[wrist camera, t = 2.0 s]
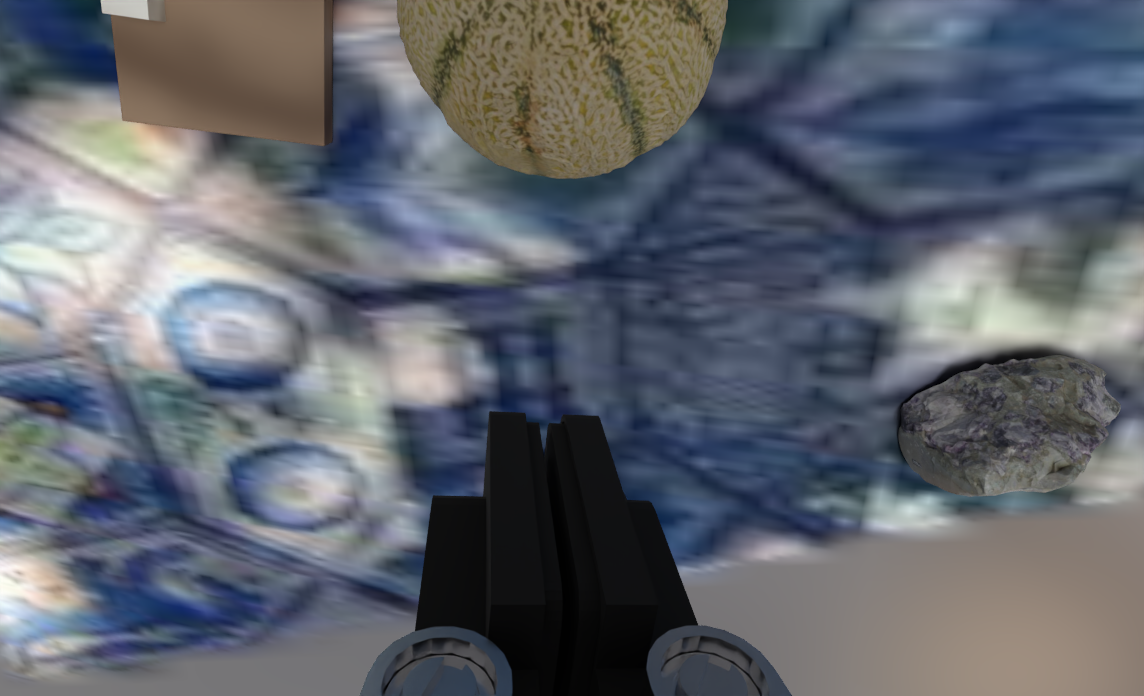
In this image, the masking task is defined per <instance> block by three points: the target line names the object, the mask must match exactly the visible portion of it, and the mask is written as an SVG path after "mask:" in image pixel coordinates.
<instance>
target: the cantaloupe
mask: <svg viewBox="0 0 1144 696" xmlns="http://www.w3.org/2000/svg"><path fill="white" fill-rule="evenodd" d="M727 8H728V0H397V18H398V23H399V26H400V37H401V39H402V41H403V43H404V46H405V51H406V55H407V58H408V60H409V62H410V64H411V66H412V68H413V71H414V73H415V74H416V76H417V77H418V79H419V80H420V85H421V86H422V87H423V88H424V90H425V91H426V92H427V93H428V95H429V96H430V98H431V99H432V100H433V102H434V103H435V104H436V105H437V106H438V107H439V108H440V109H441V111H442V113H443V114H444V117H445V120H446V121H447V124H448V125H449V126H450V127H451V128H452V129H453V131H454V132H456V133H457V134H458V135H459V136H460V137H461V138H462V139H463V140H464V141H465V142H467V143H468V144H469V145H470V146H471V147H472V148H473V149H475V150H476V151H477V152H479V153H480V154H482V155H483V156H485V157H486V158H488V159H489V160H491V161H493V162H494V163H496V164H497V165H498V166H505V167H507V168H509V169H512V170H515V171H519V172H523V173H526V174H535V175H541V176H546V177H552V178H557V179H562V178H573V179H575V178H583V177H589V176H593V177H594V176H596V175H600V174H603V173H609V172H611V171H612V170H614V169H616V168H621V167H625V166H626V165H627V164H628V163H629V162H631V161H632V160H633V159H634V158H635V157H637V156H639V155H641V154H643V153H645V152H648V151H649V150H651V149H653V148H654V147H657V146H660V145H662V143H663V142H664V141H666V140H669V139H670V138H671V137H672V136H673V134H675V133H677V131H678V130H679V128H680V127H682V126H683V125H685V123H686V121H687V120H688V118H689V117H690V116H691V114H692V113H693V111H694V110H695V109H696V108H697V107H698V105H699V103H700V101H701V99H702V97H703V96H704V93H705V91H706V88H707V85H708V82H709V79H710V77H711V74H712V70H713V63H714V60H715V57H716V55H717V53H718V51H719V47H720V43H721V38H722V34H723V30H724V26H725V22H726V17H725V16H726V11H727Z"/></svg>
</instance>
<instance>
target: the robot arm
mask: <svg viewBox="0 0 1144 696" xmlns="http://www.w3.org/2000/svg"><path fill="white" fill-rule="evenodd" d="M360 696H792V695H791V694H790V692H789V690H788V689H787V687H786V686H785V684H784V683H783V681H782V680H781V678H780V676H779V675H778V673H777V672H776V670H775V669H774V667H773V666H772V665H771V664H770V663H769V662H768V660H767V659H766V658H765V657H764V656H763V655H762V653H761V652H760V651H758V650H757V649H756V648H755V647H753V646H752V645H751V644H749V643H748V642H747V641H745V640H744V639H742V638H740V637H738V636H736V635H733V634H731V633H729V632H727V631H725V630H721V629H717V628H713V627H708V626H698V623H697V621H696V618H695V615H694V613H693V610H692V607H691V605H690V602H689V599H688V597H687V594H686V591H685V589H684V586H683V583H682V581H681V578H680V575H679V573H678V570H677V567H676V565H675V562H674V559H673V557H672V554H671V551H670V549H669V546H668V543H667V541H666V538H665V535H664V533H663V530H662V527H661V525H660V522H659V519H658V517H657V514H656V511H655V509H654V507H653V505H652V503H651V502H649V501H639V500H625V497H624V493H623V490H622V487H621V484H620V481H619V478H618V475H617V471H616V468H615V465H614V462H613V459H612V456H611V452H610V449H609V446H608V443H607V440H606V437H605V433H604V430H603V427H602V424H601V421H600V418H599V416H585V415H563V416H562V419H561V424H556V423H549V425H548V430H547V438H546V447H545V457H544V456H543V449H542V441H541V434H540V427H539V423H532V422H526V415H525V413H515V412H492V411H490V412H489V422H488V436H487V450H486V464H485V478H484V492H483V497H474V496H433V498H432V504H431V512H430V520H429V527H428V535H427V543H426V550H425V558H424V566H423V573H422V581H421V589H420V596H419V604H418V612H417V620H416V627H415V632H412V633H410V634H408V635H406V636H404V637H402V638H400V639H398V640H396V641H395V642H393V643H392V644H391V645H390V646H389V647H388V648H387V649H385V651H383V652H382V653H381V654H380V655H379V656H378V657H377V659H376V661H375V662H374V664H373V666H372V668H371V669H370V671H369V673H368V675H367V677H366V680H365V682H364V685H363V688H362V690H361V693H360Z"/></svg>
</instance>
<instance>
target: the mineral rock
mask: <svg viewBox="0 0 1144 696" xmlns="http://www.w3.org/2000/svg"><path fill="white" fill-rule="evenodd" d="M1105 375H1106V373H1105V372H1104V371H1103V370H1102V369H1100V368H1098V367H1096V366H1095V365H1092V364H1090V363H1088V362H1086V361H1085V360H1081V359H1075V358H1069V357H1066V356H1062V355H1053V356H1047V357H1042V358H1036V359H1032V358H1030V359H1026V360H1024V359H1022V360H1020V361H1018V360H1016V359H1012V360H1009V361H1007V362H1005V363H1004V364H999V365H990V364H987V363H985V364H984V365H982V366H981V367H979V368H978V369H976V370H972V371H964V372H961V373H958V374H956V375H954V376H953V377H951V378H950V379H948V380H947V381H945V382H943V383H942V384H939V385H936V386H933V387H931V388H929V389H927V390H925V391H922V392H920V393H918V394H916V395H915V396H914V397H913V398H912V399H911V400H910V401H909V402H908V403H904V404H903V406H902V407H901V419H902V422H901V426H900V428H899V432H898V438H899V444H900V448H901V451H902V453H903V456H904V458H905V459H906V461H907V463H908V464H909V466H910V467H911V468H912V470H913V471H915V472H916V473H918V474H919V475H920V476H921V477H922V478H923V479H924V480H925V481H926V482H929V483H931V484H933V485H936V486H938V487H940V488H942V489H943V490H946V491H948V492H951V493H954V494H958V495H964V496H969V497H971V496H992V495H998V494H1002V493H1006V492H1011V491H1027V492H1030V491H1034V492H1042V493H1045V492H1048V491H1052V490H1055V489H1058V488H1061V487H1063V486H1066V485H1068V484H1070V483H1073V482H1074V481H1075V479H1076V478H1077V477H1078V475H1079V473H1082V472H1084V470H1085V468H1086V466H1087V464H1088V462H1089V460H1090V458H1091V454H1090V453H1092V452H1093V450H1094V449H1095V448H1097V447H1099V446H1100V445H1101V444H1102V443H1103V442H1104V441H1105V439H1106V438H1107V436H1108V435H1109V433H1108V431H1107V429H1106V428H1104V427H1105V426H1107V425H1109V424H1110V422H1111V420H1113V419H1114V418H1115V417H1116V416H1117V415H1118V413H1119V412H1120V403H1118V402H1117V401H1116V400H1115V399H1114V398H1113V397H1112V396H1111V395H1110V394H1109V393H1108V392H1107V391H1106V389H1105V379H1104V376H1105Z"/></svg>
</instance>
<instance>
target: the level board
mask: <svg viewBox="0 0 1144 696" xmlns="http://www.w3.org/2000/svg"><path fill="white" fill-rule="evenodd" d="M101 6H102V13H105V14H111V21H112V30H113V39H114V48H115V57H116V66H117V75H118V84H119V93H120V102H121V111H122V120H123V121H129V122H137V123H145V124H153V125H161V126H169V127H176V128H184V129H192V130H200V131H208V132H216V133H224V134H232V135H240V136H248V137H256V138H264V139H272V140H280V141H288V142H296V143H304V144H312V145H320V146H325V145H327V144H329V143H331V142H332V97H333V0H101Z"/></svg>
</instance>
